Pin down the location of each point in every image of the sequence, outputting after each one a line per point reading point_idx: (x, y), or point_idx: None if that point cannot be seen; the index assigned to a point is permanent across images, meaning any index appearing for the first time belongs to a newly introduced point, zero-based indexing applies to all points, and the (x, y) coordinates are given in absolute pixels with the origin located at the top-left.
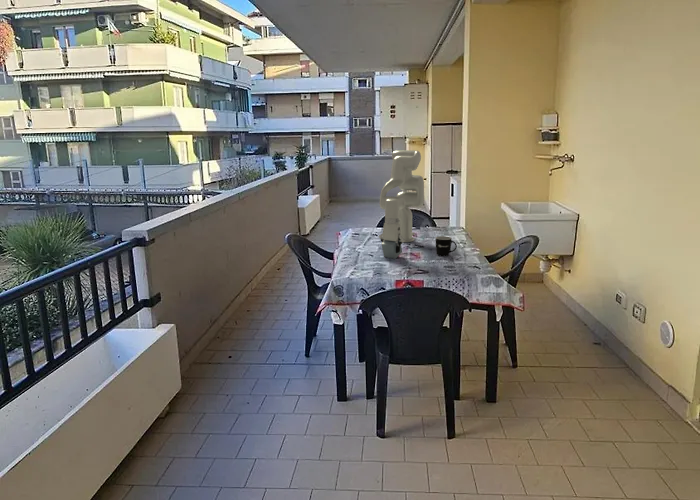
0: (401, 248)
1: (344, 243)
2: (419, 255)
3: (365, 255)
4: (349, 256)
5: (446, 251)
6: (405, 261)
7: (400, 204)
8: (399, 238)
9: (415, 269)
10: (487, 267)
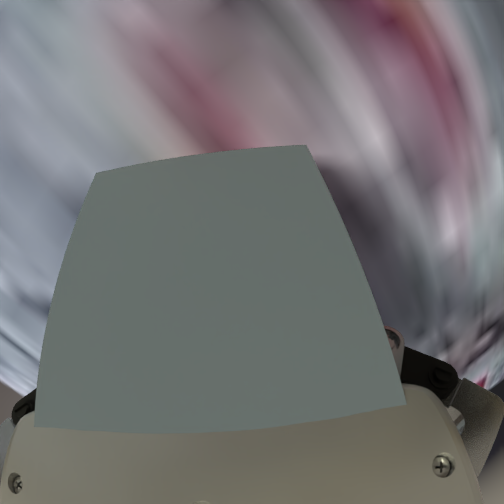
0: (325, 191)
1: None
2: (421, 6)
3: (38, 333)
4: (31, 382)
5: None
6: (403, 271)
7: None
8: (394, 416)
9: (471, 336)
10: None
